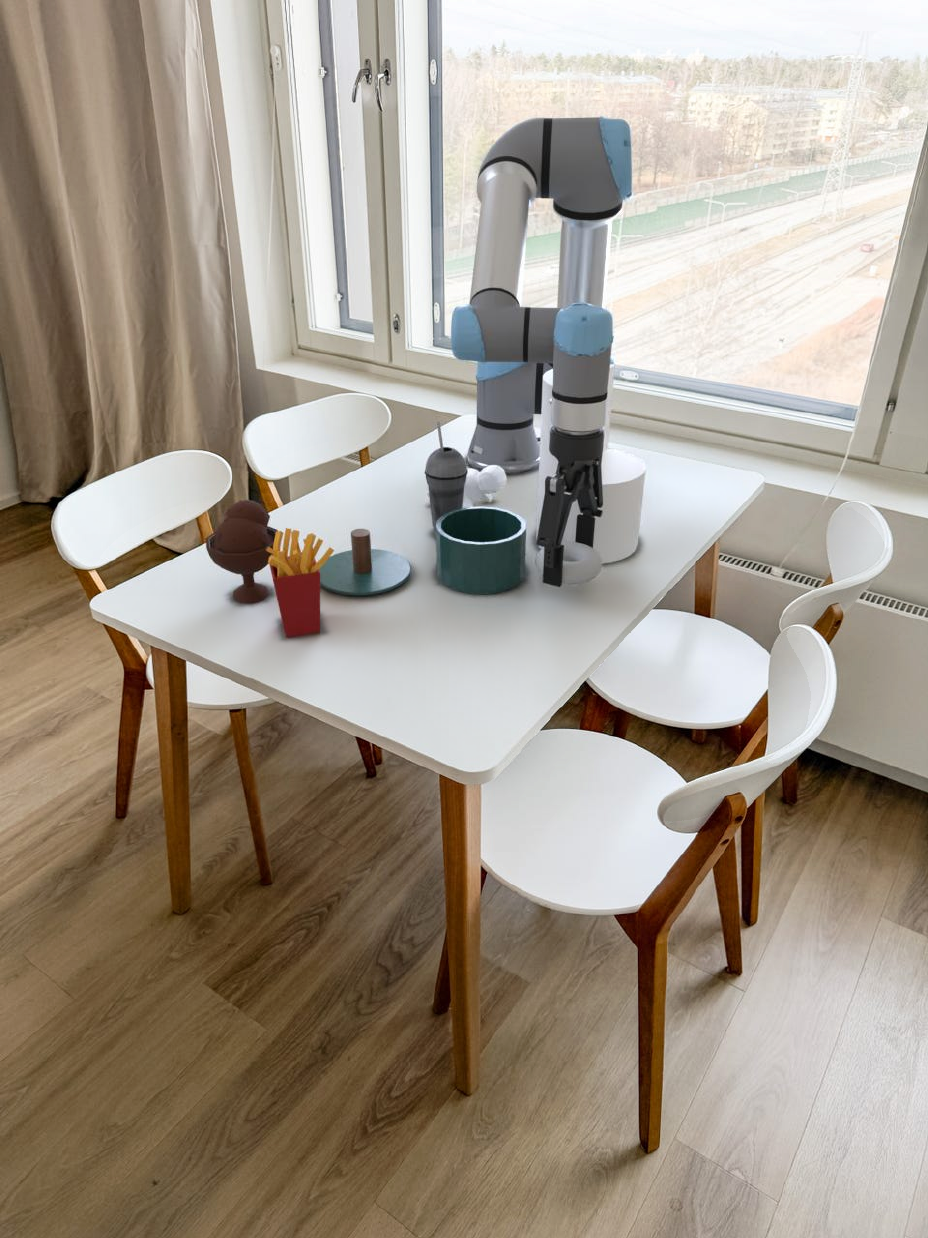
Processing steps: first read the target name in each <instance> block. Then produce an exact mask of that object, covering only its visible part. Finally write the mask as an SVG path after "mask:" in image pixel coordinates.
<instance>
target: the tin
mask: <svg viewBox="0 0 928 1238" xmlns="http://www.w3.org/2000/svg"><path fill="white" fill-rule="evenodd" d="M526 549H527V522H526V520H525V519H524V518H523V517H522V516H521V515H520V514H517V513H515V512H514V511H511V510H508V509H505V508H500V507H496V506H480V505H479V506H474V507H466V508H461V509H457V510H453V511H451V512H448V513H446V514H444V515H442V516H441V517H440V518H439V519H438V520H437V521H436V536H435V555H436V556H435V565H436V567H435V568H436V576H437V579H438V580H439V582H440V583H441V584H442V585H444V587H447V588H449V589H450V590H453V591H456V592H461V593H465V594H470V595H471V594H472V595H491V594H497V593H498V594H499V593H502V592H505V591H509V590H511V589H513V588H515V587H516V586H518V585H520V583H522V581H523V580H524V577H525V573H526V551H527V550H526Z"/></svg>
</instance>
